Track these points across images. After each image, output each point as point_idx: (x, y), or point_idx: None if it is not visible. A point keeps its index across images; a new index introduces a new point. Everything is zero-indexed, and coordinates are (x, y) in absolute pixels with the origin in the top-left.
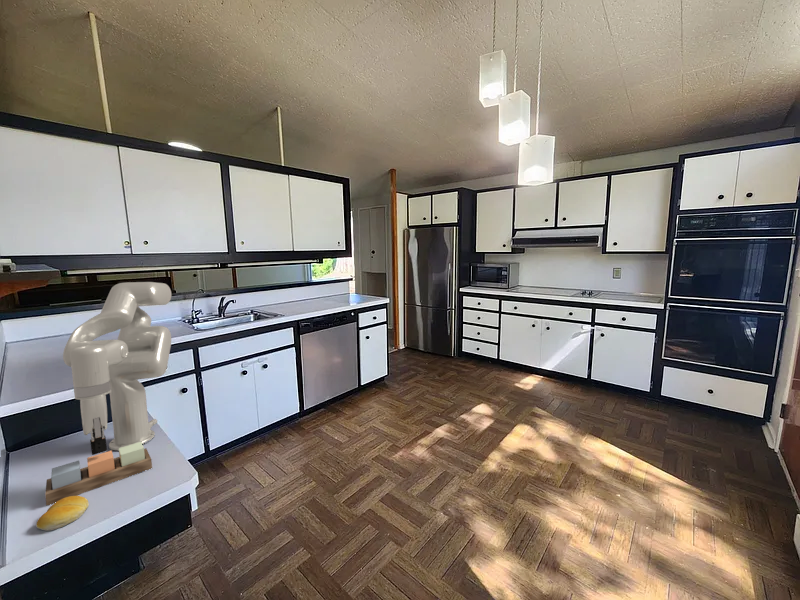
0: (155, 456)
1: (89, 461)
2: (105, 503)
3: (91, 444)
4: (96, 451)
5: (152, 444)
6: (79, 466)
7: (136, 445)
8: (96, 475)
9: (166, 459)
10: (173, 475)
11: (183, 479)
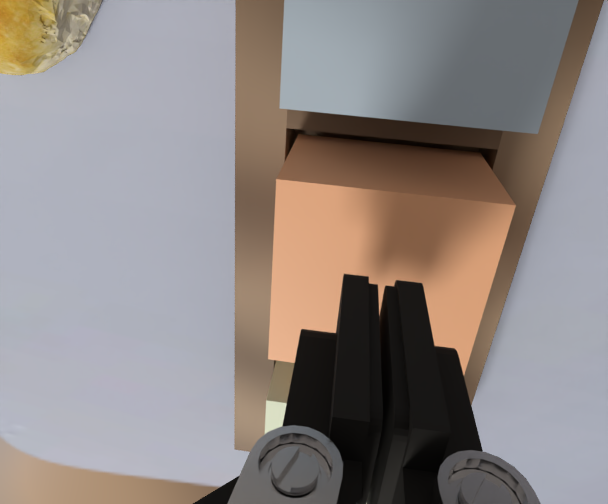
0: None
1: (377, 207)
2: (6, 149)
3: (338, 377)
4: (305, 329)
5: (600, 487)
6: (327, 111)
7: None
8: None
9: None
10: (88, 425)
11: (17, 434)
